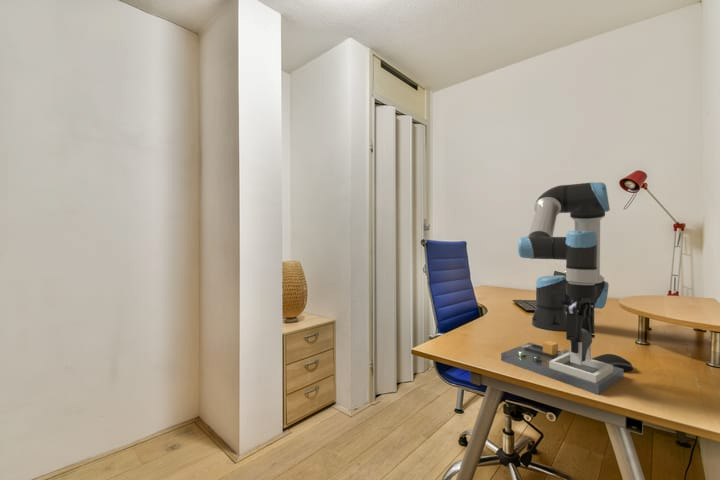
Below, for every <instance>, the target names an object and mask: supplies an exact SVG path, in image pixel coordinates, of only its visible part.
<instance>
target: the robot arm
mask: <svg viewBox="0 0 720 480" xmlns="http://www.w3.org/2000/svg"><path fill="white" fill-rule="evenodd" d="M608 196H609V195H608V190H607V185H606V184H605V183H604V182H601V181H600V182H584V183H583V182H582V183H575V184H573V183H572V184H560V185H557V186H554V187H551V188H549V189H547V190H546V191H544V192H543V193H542V194H541V195H540V196H538V198H537V200H536V201H535V203H534V207H533V208H534V211H535V213H534V217H533V219H532V223H531V226H530V230H529V233H528V236H521V237H520V238H519V239H518V243H517V244H518V245H517V250H518V251H517V252H518V256H519V257H520V258H522V259H531V260H534V259H535V260H536V259H538V260H560V261H561V260H562V261H566V262H565V264H566V265H565V270H564V274H565V275H544V276H540V277H538V278H537V279H536V284H535V291H536V293H535V295H536V297H535V298H536V300H535V303H536V304H535V310H534V312H533V315H532V318H531V325H532V326H534V327H535V328H539V329H543V330H548V331H558V332H562V331H565V332H566V334H565V335H566V337H565V339H566V340H567V341H569V342H570V343H569V345H570V346H569V349H570V350H569V351H570V352H569V353H570V362H572V363H575V364H579V365H582V342H580V339H581V331H582V328H583V329H585V330H587V331H588V332H589V333H590V334H591V336H592V339H595V337H596V335H595V309H599V310H601V309H603V308H605V306H606V304H607V299H608V294H609V292H608V291H609V282H608V281H605V277H604V276H602V274H601V220H602V219H603V218H605V216H606V212H609V211H610V203H609V197H608ZM567 213H568V214H569V213H570V214H569V215H570V216H569V217H570V218H571V219H572V220H574V230H570V231H567V233H566V236H554V232H555V227H556V222H557V216H558V215H559V214H567ZM591 353H592V343H591V344H590V346H589V347H588V349H587V354H586V359H587V360H591V359H592V354H591Z"/></svg>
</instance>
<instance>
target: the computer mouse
mask: <svg viewBox="0 0 720 480" xmlns="http://www.w3.org/2000/svg"><path fill="white" fill-rule="evenodd" d="M591 359H592V360H596V361H600V362H603V363H607V364H610V365H613V366H614V367H618V368H622V369H624V373H631V372H633V371H634V366H633V365H632V363H631V362H630V361H628V359H625V358H623V357H622V356H620V355H617V354H612V353H606V354H601V355H598V356H594V357H593V358H592V357H591Z"/></svg>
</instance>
